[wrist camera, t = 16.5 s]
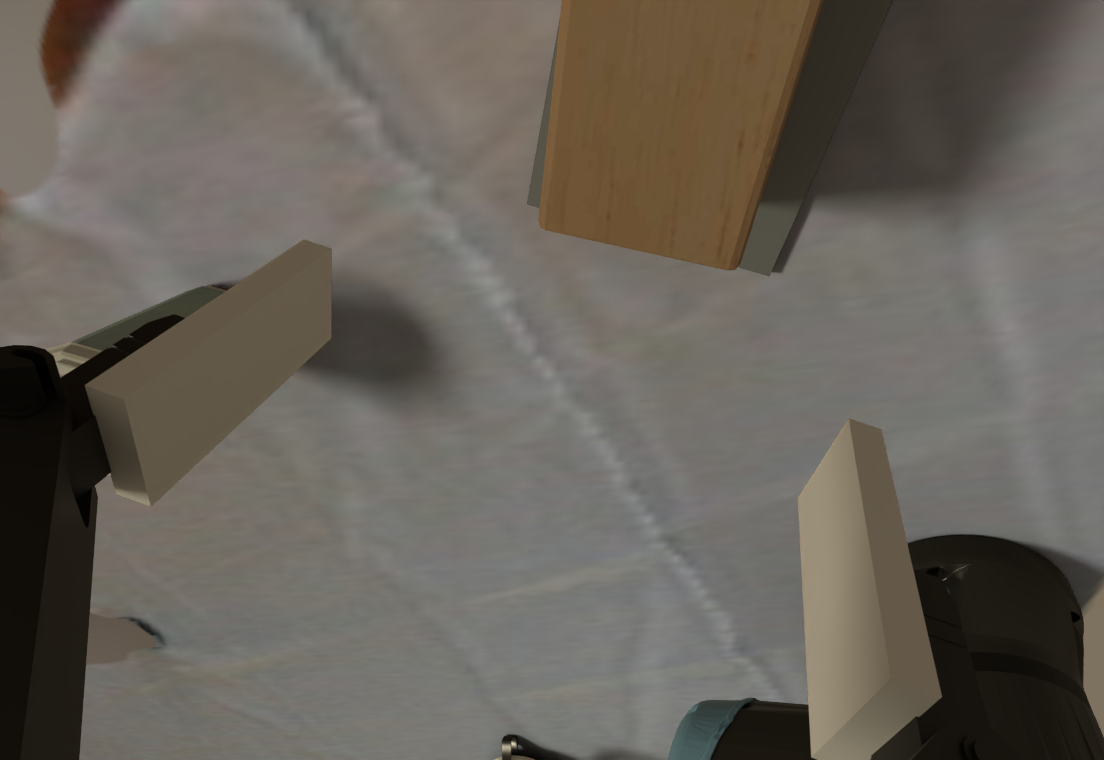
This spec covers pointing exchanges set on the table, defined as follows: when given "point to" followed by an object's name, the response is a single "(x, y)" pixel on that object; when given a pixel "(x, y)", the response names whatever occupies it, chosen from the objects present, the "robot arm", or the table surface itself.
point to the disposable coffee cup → (129, 327)
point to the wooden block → (670, 120)
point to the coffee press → (511, 749)
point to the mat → (790, 122)
